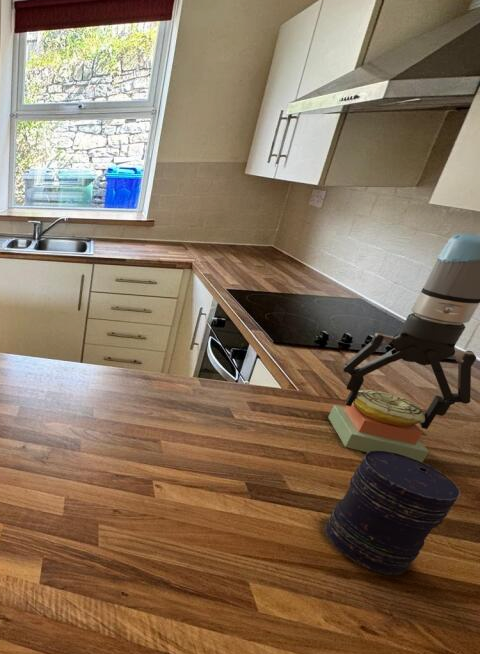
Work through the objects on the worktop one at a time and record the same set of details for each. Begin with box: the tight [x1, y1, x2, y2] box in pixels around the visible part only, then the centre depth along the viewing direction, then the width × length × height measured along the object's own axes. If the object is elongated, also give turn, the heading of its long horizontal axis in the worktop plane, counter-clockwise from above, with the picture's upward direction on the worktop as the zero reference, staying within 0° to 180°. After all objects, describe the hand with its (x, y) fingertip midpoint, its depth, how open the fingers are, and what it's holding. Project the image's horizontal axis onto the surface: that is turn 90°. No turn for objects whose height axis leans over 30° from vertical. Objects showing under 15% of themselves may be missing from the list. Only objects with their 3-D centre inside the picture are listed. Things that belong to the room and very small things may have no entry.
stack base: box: [327, 404, 430, 463], centre depth 87 cm, size 12×12×4 cm
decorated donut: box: [354, 389, 425, 427], centre depth 84 cm, size 10×11×4 cm
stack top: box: [345, 401, 423, 445], centre depth 86 cm, size 9×9×3 cm
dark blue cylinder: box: [324, 451, 461, 576], centre depth 60 cm, size 10×10×15 cm
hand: (384, 414), depth 85 cm, fingers closed on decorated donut, 11 cm apart
